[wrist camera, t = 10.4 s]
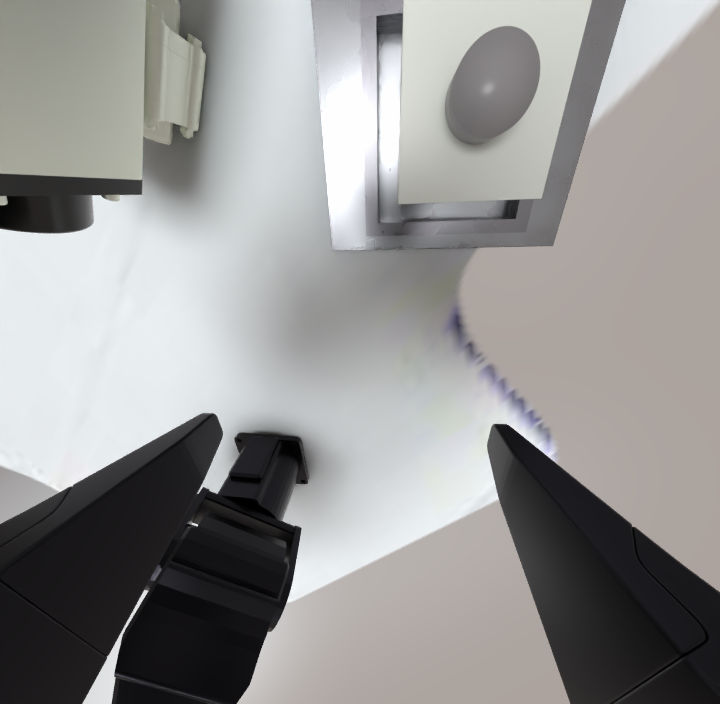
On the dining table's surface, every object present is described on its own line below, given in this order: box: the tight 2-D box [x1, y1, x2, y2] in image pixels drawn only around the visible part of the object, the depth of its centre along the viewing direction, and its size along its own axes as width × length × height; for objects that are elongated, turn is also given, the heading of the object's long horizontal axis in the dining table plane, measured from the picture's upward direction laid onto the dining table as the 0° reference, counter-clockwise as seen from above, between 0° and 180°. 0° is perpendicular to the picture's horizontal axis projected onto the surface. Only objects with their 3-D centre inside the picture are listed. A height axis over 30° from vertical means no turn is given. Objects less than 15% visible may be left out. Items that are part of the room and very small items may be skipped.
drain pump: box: [398, 0, 592, 204], centre depth 10 cm, size 5×4×7 cm
